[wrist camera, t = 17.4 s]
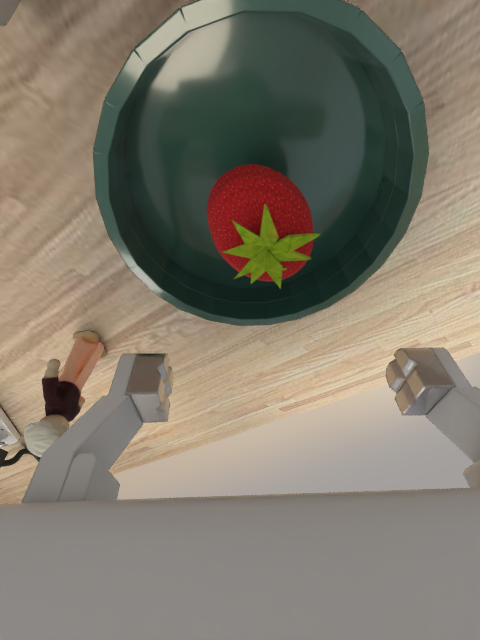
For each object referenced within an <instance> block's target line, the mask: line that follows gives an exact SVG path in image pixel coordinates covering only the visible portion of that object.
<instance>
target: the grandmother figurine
mask: <svg viewBox="0 0 480 640" xmlns="http://www.w3.org/2000/svg"><path fill="white" fill-rule="evenodd" d="M73 339H74V341H75V344H74V346H73V348H72V350H71V352H70V354H69V356H68V359H67V361H66V363H65V365H64V371H63V373H62V375H61V377H60V378H59V379H58V369H59V367H60V361H59V360H57V359H51V360H50V361H49V362H48V364H47V367H48V369H47V370H46V372H45V376H44V378H43V379H42V384H43V394H44V399H45V402H46V404H45V412H46V417H44V418H43V419H41V420H40V421H39V422H37V423H31V424H30V425H28V426H26V427H25V429H24V439H25V442H26V446H27V449H28V450H29V451H30V452H31V453H33V454H34V455H36V456H38V457H41V456H42V454H43V452H44V451H45V450H47V449H48V448H49V447H50V446H51V445H52V444H53V443H54V442H55V441H56V440H57V439H58V438H59V437H60V436H61V435H62V434H64V433H65V432H66V431H67V430H68V429H69V424H68V422H69V421H72V420H73V419H74V418H75V417H76V416H77V415H78V413H79V412H80V409H81V407H82V405H83V404H84V402H85V399H84V398H83V397H81V395H80V394H81V390H82V388H83V386H84V384H85V383H86V381H87V379H88V377H89V376H90V374H91V372H92V370H93V369H94V367H95V365H96V363H97V362H98V360H99V359H102V358H104V357H105V356H106V350H105V349H104V345H103V344H102V343H100V342H99V340H100V338H99V336H98V335H97V334H96V333H95V332H92V331H83V332H78V333H75V334H74V335H73Z"/></svg>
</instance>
